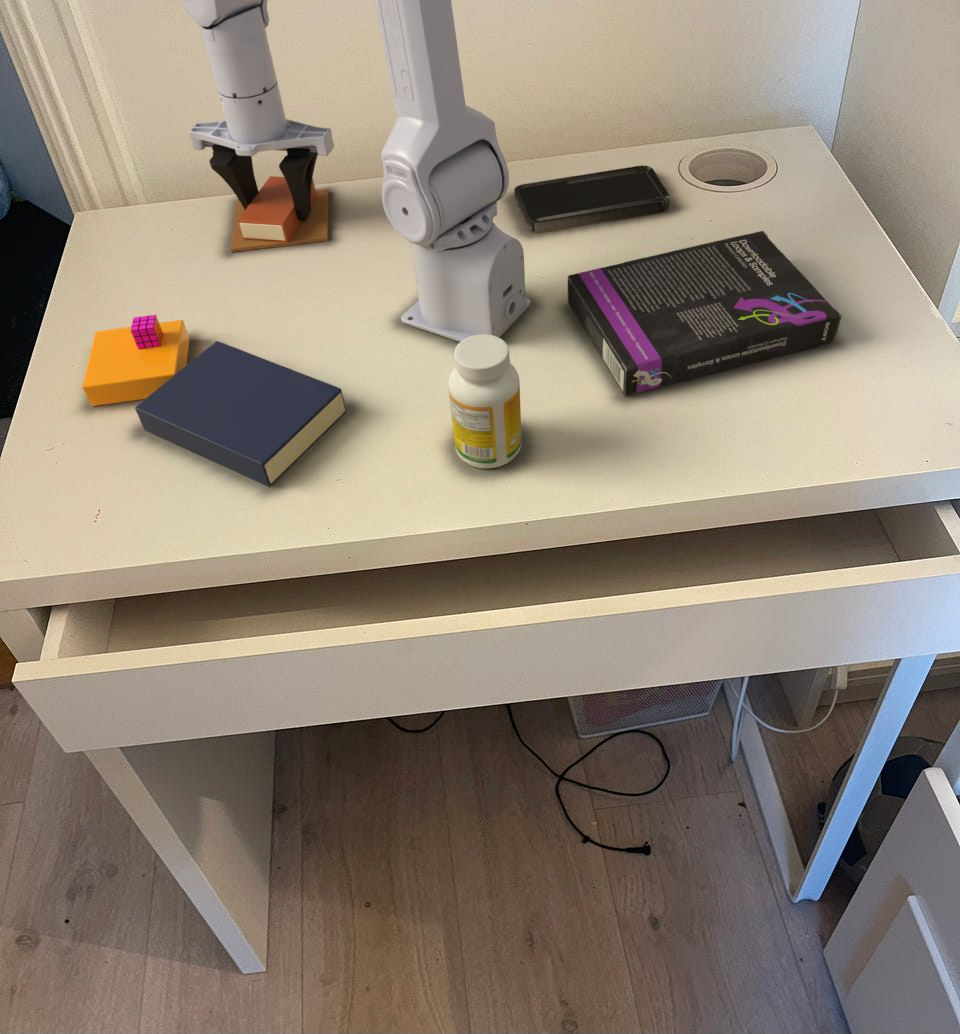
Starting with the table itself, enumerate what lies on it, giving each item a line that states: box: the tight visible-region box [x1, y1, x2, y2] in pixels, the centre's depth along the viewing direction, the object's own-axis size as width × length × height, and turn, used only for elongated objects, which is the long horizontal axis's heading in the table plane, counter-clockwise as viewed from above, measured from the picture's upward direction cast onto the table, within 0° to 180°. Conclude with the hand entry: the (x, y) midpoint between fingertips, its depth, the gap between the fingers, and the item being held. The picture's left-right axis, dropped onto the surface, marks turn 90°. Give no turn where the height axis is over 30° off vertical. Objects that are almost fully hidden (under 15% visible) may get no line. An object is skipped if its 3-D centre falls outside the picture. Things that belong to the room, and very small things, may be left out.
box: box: [567, 230, 843, 397], centre depth 83 cm, size 14×4×20 cm
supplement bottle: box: [447, 334, 523, 469], centre depth 72 cm, size 5×5×10 cm
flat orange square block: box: [82, 314, 191, 407], centre depth 84 cm, size 8×8×4 cm
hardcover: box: [134, 340, 347, 488], centre depth 79 cm, size 14×10×3 cm
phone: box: [513, 164, 671, 233], centre depth 99 cm, size 8×1×15 cm
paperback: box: [238, 175, 317, 242], centre depth 100 cm, size 9×5×2 cm, turn 167°
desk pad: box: [230, 188, 329, 253], centre depth 101 cm, size 10×10×1 cm
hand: (279, 214), depth 101 cm, fingers closed on paperback, 5 cm apart
